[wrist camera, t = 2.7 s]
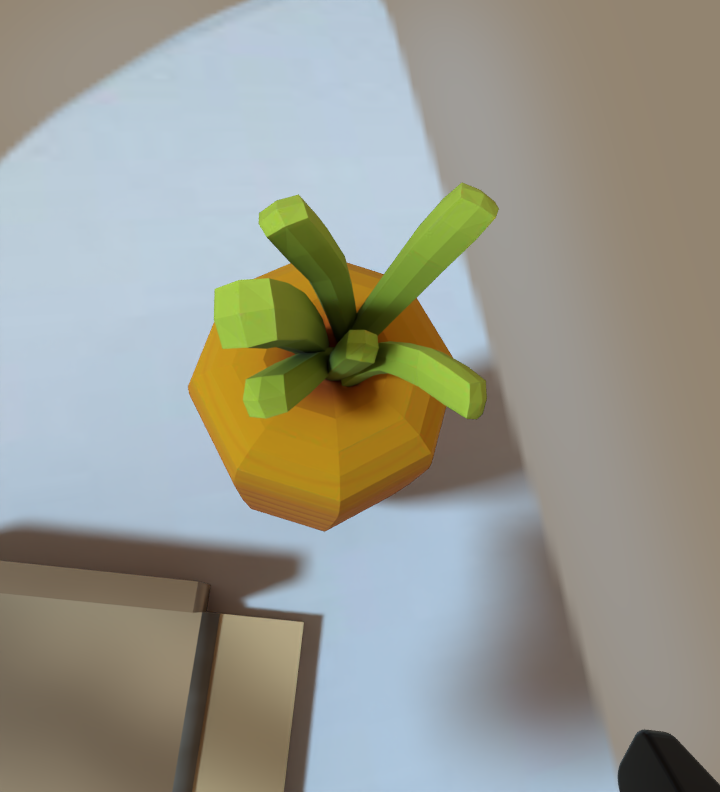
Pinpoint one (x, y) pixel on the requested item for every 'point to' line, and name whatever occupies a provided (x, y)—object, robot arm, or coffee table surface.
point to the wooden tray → (138, 686)
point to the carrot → (335, 367)
